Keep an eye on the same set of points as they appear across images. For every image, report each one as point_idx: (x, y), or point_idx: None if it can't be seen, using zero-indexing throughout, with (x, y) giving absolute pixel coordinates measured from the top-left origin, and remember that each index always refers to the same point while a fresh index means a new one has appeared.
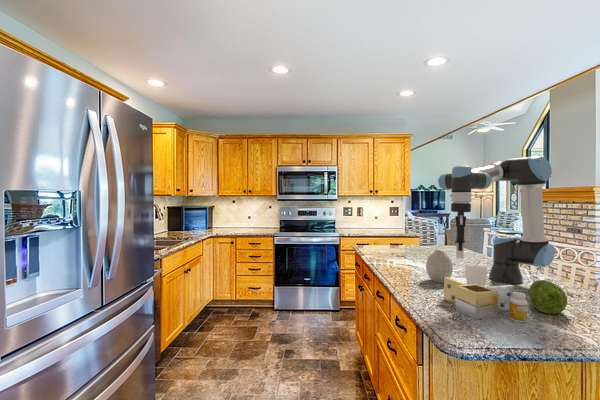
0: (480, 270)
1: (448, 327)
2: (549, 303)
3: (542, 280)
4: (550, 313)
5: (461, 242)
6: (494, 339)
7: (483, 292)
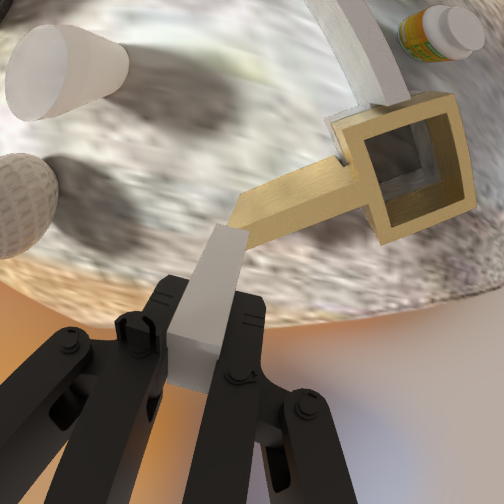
0: (77, 51)
1: (467, 263)
2: None
3: None
4: None
5: (278, 393)
6: None
7: (469, 169)
